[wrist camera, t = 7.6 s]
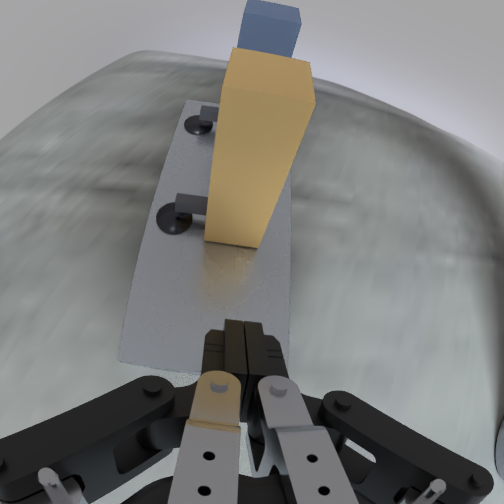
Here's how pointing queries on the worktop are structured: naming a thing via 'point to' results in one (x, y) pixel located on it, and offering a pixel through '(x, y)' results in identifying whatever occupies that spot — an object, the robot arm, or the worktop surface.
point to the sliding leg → (253, 144)
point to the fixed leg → (264, 35)
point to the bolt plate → (201, 265)
